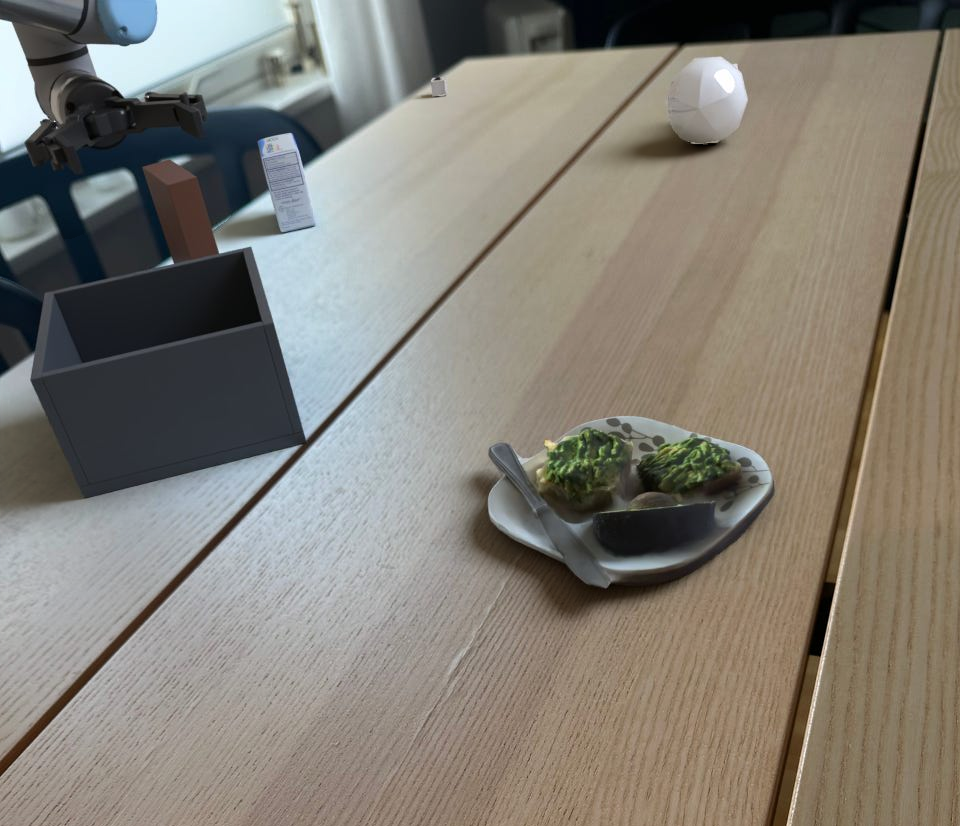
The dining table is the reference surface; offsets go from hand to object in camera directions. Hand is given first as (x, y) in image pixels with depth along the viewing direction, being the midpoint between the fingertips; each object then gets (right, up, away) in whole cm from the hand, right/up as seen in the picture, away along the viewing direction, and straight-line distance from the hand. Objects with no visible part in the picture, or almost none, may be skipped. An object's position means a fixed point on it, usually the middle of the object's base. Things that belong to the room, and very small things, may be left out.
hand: (138, 142), depth 107 cm
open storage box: (+12, -34, -21) cm, 42 cm away
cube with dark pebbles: (+30, +33, +52) cm, 69 cm away
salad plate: (+46, -44, -39) cm, 75 cm away
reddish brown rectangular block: (+7, -15, +2) cm, 16 cm away
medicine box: (+14, -2, +15) cm, 21 cm away
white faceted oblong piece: (+64, +10, +19) cm, 68 cm away
